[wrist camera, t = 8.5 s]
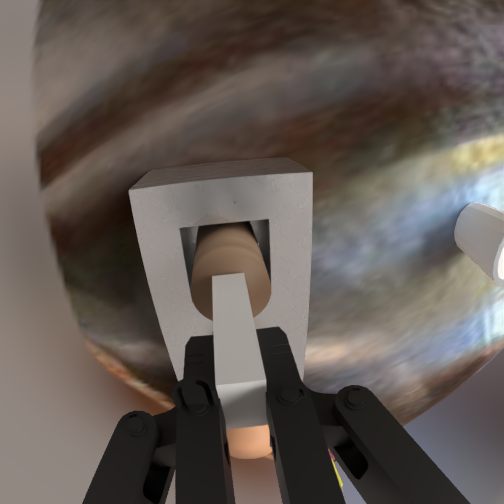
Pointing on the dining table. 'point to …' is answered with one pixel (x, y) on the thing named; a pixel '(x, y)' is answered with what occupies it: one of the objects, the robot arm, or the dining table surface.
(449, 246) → the dining table surface
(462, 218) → the white cup
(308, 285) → the jig
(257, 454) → the plug terracotta
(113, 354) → the dining table surface
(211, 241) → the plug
